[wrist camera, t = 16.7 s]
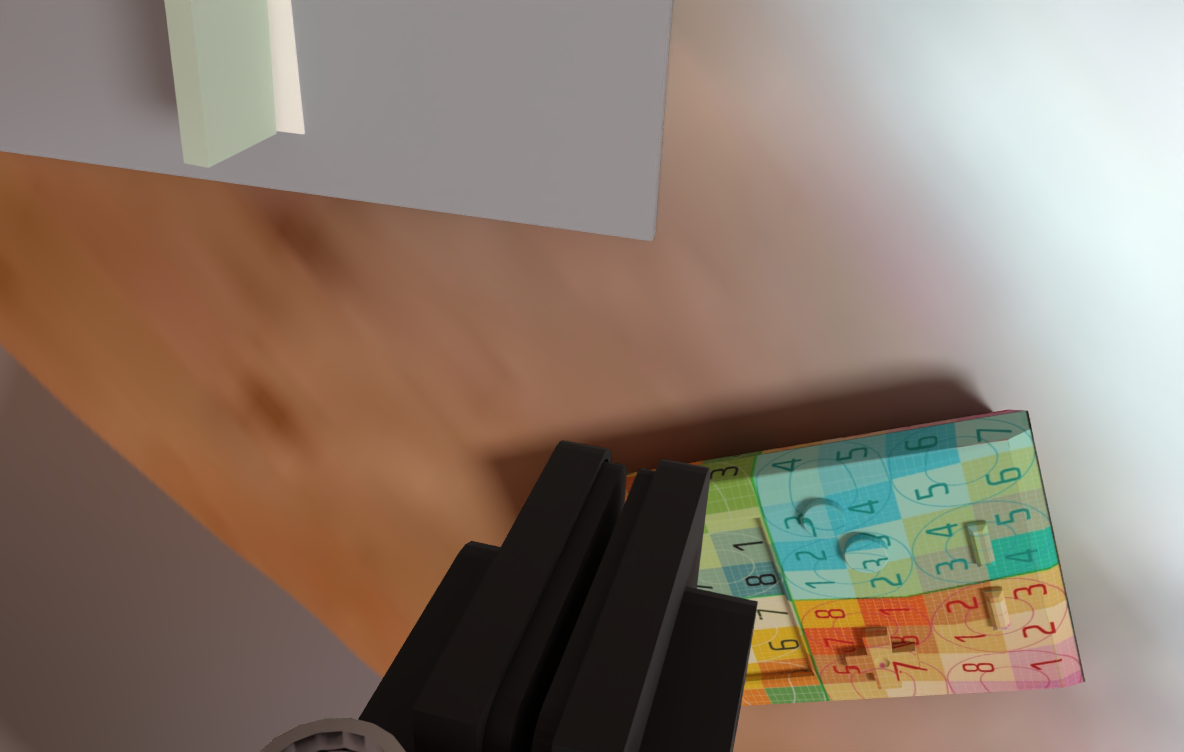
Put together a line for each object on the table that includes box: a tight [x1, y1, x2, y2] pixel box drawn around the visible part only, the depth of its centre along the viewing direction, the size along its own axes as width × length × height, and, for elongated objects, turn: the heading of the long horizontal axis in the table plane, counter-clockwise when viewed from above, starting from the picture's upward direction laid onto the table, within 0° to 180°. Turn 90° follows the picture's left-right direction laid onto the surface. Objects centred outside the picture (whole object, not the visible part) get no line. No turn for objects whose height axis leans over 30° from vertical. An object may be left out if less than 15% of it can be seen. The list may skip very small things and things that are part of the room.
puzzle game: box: [625, 410, 1085, 706], centre depth 42 cm, size 12×5×20 cm
